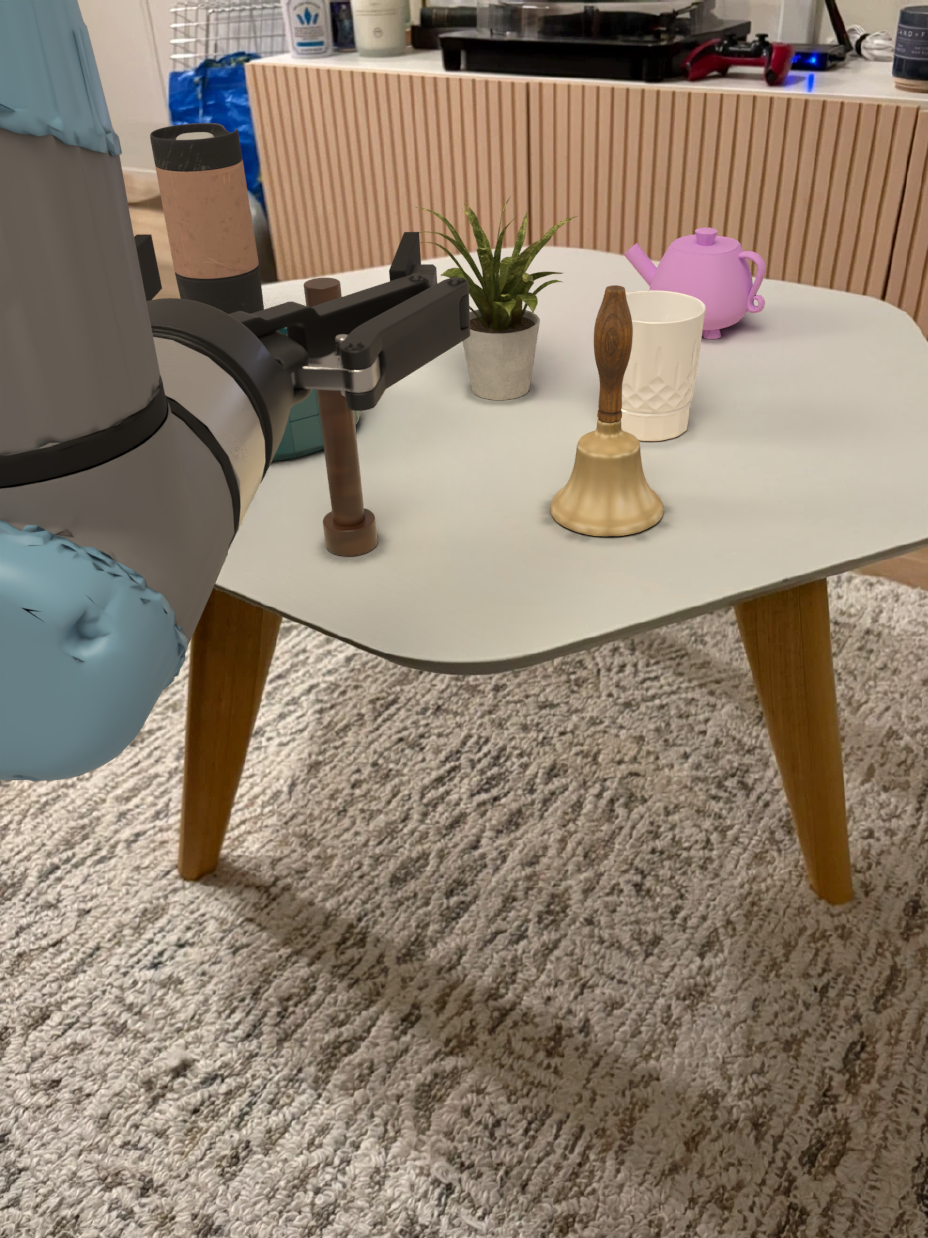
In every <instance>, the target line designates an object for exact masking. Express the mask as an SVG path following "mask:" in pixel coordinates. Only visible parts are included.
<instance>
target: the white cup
mask: <svg viewBox="0 0 928 1238" xmlns="http://www.w3.org/2000/svg"><path fill="white" fill-rule="evenodd" d="M625 293H626V299H627V303H628V306H629V310H630V314H631V318H632V325H633V338H632V349H631V354H630V359H629V362H628V366H627V368H626V371H625V374H624V378H623V383H622V409H621V410H622V418H621V428H622V430H623V431H625V432H628V433H630V434H632V435H634V436H635V437H636V438H637V439H638V441H639V442H658V441H659V442H661V441H666V440H670V439H674V438H677V437H679V436H681V435H682V434H684V433H685V432H687V430H688V425H689V419H690V412H691V404H692V399H693V397H694V394H695V386H696V382H697V375H698V369H699V359H700V352H701V346H702V339H703V336H702V331H703V324H704V317H705V310H706V307H705V305H704V303H703V302H702V301H700V300H699V299H697V298H695V297H692V296H690V295H686V294H682V293H677V292H670V291H657V290H650V289H649V290H637V291H636V290H635V291H629V292H625Z"/></svg>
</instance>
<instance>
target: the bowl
mask: <svg viewBox="0 0 928 1238" xmlns="http://www.w3.org/2000/svg"><path fill="white" fill-rule="evenodd" d="M278 331H280V332H281V333H283V334H284V335H286V336H288V332H287V327H286V328H283V329H280V330H278ZM361 414H362V411H354V418H355V426H356V425H357V424H358V423H359V420H360V417H361ZM322 450H324V444H323V436H322V428H321V420H320V412H319V404H318V396H317V390H314V389H312V390H311V393H310V394H309V396H308V397H307V398H306V399H305V400H303V401H301V402H299V403H298V404H296V405H294V406H293V407H291V409H290V413H289V417H288V421H287V425H286V428H285V432H284V435H283V437H282V440H281V442H280V445H279V447H278V449H277V451H276V453H275V455H274V457H273V459H272V462H278V461H285V460H290V459H295V458H300V457H304V456H307V455H311V454H314V453H317V452H320V451H322Z"/></svg>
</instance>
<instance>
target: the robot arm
mask: <svg viewBox="0 0 928 1238" xmlns="http://www.w3.org/2000/svg"><path fill="white" fill-rule="evenodd" d="M95 56H96V55H95V52H94V49H93V45H92V40H91V37H90V33H89V29H88V26H87V25H86V23H85V21H84V17H83V15H82V10H81V7H80V4H79V0H0V781H5V782H11V781H31V782H43V781H45V782H52V781H53V782H54V781H62V780H69V779H72V778H76V777H81V776H83V775H85V774H88V773H90V772H94V771H95V770H98V769H99V768H101V767H103V766H105V765H107V764H108V763H110V762H111V761H113V760H114V759H116V758H117V757H118V756H119V755H121V753H123V752H124V750H126V749H127V748H128V747H129V745H131V743H133V741H135V739H136V738H137V736H138V735H139V734H140V732H141V731H142V729H143V727H144V726H145V723H146V721H147V720H148V718H149V716H150V714H151V713H152V711H153V710H154V707H155V706H156V704H157V702H158V700H159V698H160V696H161V694H162V692H163V691H165V690H166V689H167V688H168V687H170V686H171V685H172V683H174V681H175V679H176V678H175V677H178V676H179V675H180V671H181V670H182V667H183V666H184V664H185V662H186V653H187V650H188V647H189V645H190V643H191V640H192V638H193V636H194V633H195V631H196V629H197V626H198V624H199V622H200V620H201V617H202V615H203V612H204V610H205V608H206V606H207V603H208V601H209V599H210V596H211V595H212V592H213V590H214V587H215V585H216V582H217V580H218V578H219V575H220V573H221V571H222V569H223V567H224V564H225V562H226V560H227V557H228V555H229V549H230V548H231V546H232V544H233V542H234V539H235V538H236V535H237V534H238V531H239V530H240V528H241V525H242V523H243V521H244V519H245V518H246V515H247V513H248V511H249V508H250V506H251V504H252V502H253V500H254V498H255V495H256V493H257V491H258V489H259V487H260V485H261V483H262V482H263V480H264V479H265V476H266V474H267V472H268V470H269V468H270V466H271V463H272V462H273V461H272V459H273V457H274V455H275V453H276V451H277V449H278V447H279V445H280V442H281V440H282V437H283V435H284V432H285V428H286V425H287V421H288V417H289V413H290V409H291V407H293V406H294V405H296V404H298V403H299V402H301V401H303V400H305V399H306V398H307V397H308V396H309V394H310V393H311V390H312V389H314V390H338V391H341V395H343V396H345V398H346V407H347V408H348V409H351V410H354V411H361V412H362V411H363V412H364V411H369V410H373V409H374V408H375V407H376V406H377V405H378V403H379V401H380V400H381V398H382V396H383V395H384V393H385V391H386V390H388V389H389V388H391V387H392V386H393V385H395V384H397V383H399V382H401V380H403V379H405V378H407V377H409V376H410V375H411V374H413V373H415V372H416V371H418V370H419V369H421V368H423V367H424V366H425V365H427V364H429V363H430V362H432V361H433V360H436V359H437V358H438V357H440V356H441V355H443V354H445V353H447V352H448V351H450V350H451V349H452V348H455V347H456V346H457V345H459V344H460V343H463V342H462V341H464V340H465V339H467V338H468V337H470V312H471V310H470V307H471V306H470V294H469V284H468V280H466V279H465V278H459V277H451V278H449V277H448V278H446V279H443V280H440V281H439V282H438V272H437V271H438V270H437V266H436V265H435V264H434V263H433V264H432V263H431V264H425V263H422V257H421V255H422V254H421V241H420V240H421V239H420V238H421V237H420V233H419V232H420V231H404V232H403V234H402V237H401V239H400V241H399V244H398V247H397V250H396V252H395V254H394V257H393V259H392V262H391V264H390V267H389V269H388V275H389V281H386V282H384V283H380V284H377V285H374V286H371V287H368V288H365V289H361V290H359V291H355V292H353V293H350V294H346V295H343V296H342V297H340V298H337V299H334V300H331V301H328V302H325V303H322V304H319V305H316V306H313V307H308V306H306V304H303V303H298V302H296V301H287V302H283V303H280V304H277V305H274V306H271V307H267V308H264V310H261V311H258V312H255V313H252V314H249V313H246V312H243V311H237V312H234V313H231V314H227V313H225V312H223V311H222V310H219V309H217V308H215V307H213V306H210V305H207V304H204V303H201V302H197V301H193V300H188V299H181V298H178V297H164V298H163V297H162V298H155V297H156V296H158V294H159V293H160V292H161V290H163V286H162V280H161V276H160V271H159V265H158V260H157V256H156V250H155V246H154V245H155V244H154V241H153V235H152V233H151V234H144V233H143V234H136V235H135V234H134V229H133V223H132V218H131V214H130V213H131V212H130V207H129V201H128V196H127V190H126V185H125V179H124V173H123V167H122V161H121V156H122V154H123V151H122V145H121V141H120V136H119V135H118V133H116V131H115V129H114V127H113V123H112V119H111V116H110V111H109V108H108V104H107V100H106V96H105V92H104V89H103V85H102V79H101V75H100V73H99V68H98V65H97V61H96V57H95ZM469 306H470V307H469ZM286 327H287V332H288V336H286V335H284V334H283V333H281V332H280V331H278V330H280V329H283V328H286Z"/></svg>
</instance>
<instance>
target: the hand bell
mask: <svg viewBox="0 0 928 1238" xmlns="http://www.w3.org/2000/svg"><path fill="white" fill-rule="evenodd" d="M626 293H627V292H626V287H624V286H622V285H618V284H616V285H613V284H612V285H607V286H606V287H605V289H604V293H603V298H602V301H601V304H600V305H599V309H598V311H597V315H596V318H595V322H594V328H593V353H594V361H595V365H596V369H597V374H598V377H599V379H598V380H599V393H598V403H597V407H598V408H597V414H596V416H597V420H596V429H595V430H593V431H589V432H587V433H585V434H583V435H582V436H581V437H580V438H579V439H578V441H577V444H576V451H575V458H574V464H573V467H572V471H571V474H570V476H569V478H568V480H567V482H566V483H565V485H564V487H562V488H561V489H560V490H558V491H557V492H556V494H555V495H554V496H553V498H552V500H551V502H550V506H549V511H550V514H551V517H552V518H553V519H554V520H555V522H556V523H558V524H559V525H560V526H562V527H564V528H566V529H568V530H570V531H573V532H575V533H579V534H583V535H587V536H592V537H593V536H594V537H621V536H623V537H624V536H628V535H633V534H638V533H641V532H643V531H646V530H648V529H650V528H652V527H653V526H655V525H656V524H658V523H659V522H660V520H661V519H662V518H663V516H664V513H665V505H664V503H663V501H662V499H661V498H660V496H659V495H658V493H657V492H656V491H655V490H654V489H652V488H651V486H650V485H649V483H648V481H647V478H646V476H645V473H644V469H643V462H642V452H641V442H640V440H638V439H637V438H636V437H635V436H634V435H632V434H630V433H628V432H625V431H623V430H622V428H621V418H622V410H621V409H622V383H623V378H624V374H625V371H626V368H627V366H628V362H629V359H630V354H631V349H632V338H633V325H632V318H631V314H630V310H629V306H628V303H627V299H626Z"/></svg>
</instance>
